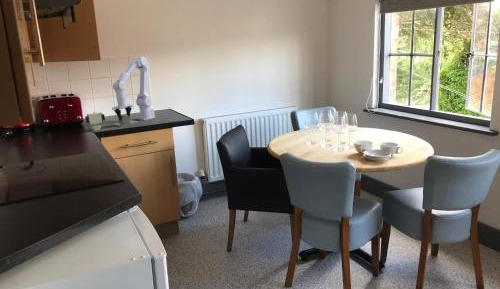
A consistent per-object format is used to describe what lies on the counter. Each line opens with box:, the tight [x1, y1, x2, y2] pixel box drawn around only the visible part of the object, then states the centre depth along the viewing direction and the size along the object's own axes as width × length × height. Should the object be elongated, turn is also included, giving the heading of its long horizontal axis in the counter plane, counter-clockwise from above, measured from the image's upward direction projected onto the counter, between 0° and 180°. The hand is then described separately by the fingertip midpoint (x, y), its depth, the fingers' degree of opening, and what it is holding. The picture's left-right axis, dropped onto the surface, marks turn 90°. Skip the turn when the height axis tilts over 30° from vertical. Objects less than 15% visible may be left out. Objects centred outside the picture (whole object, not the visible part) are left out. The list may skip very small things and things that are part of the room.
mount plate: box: [111, 119, 140, 128], centre depth 281 cm, size 14×12×4 cm
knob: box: [117, 114, 131, 123], centre depth 279 cm, size 5×5×5 cm
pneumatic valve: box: [84, 111, 106, 132], centre depth 267 cm, size 6×12×12 cm, turn 116°
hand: (124, 119), depth 278 cm, fingers open, 6 cm apart
